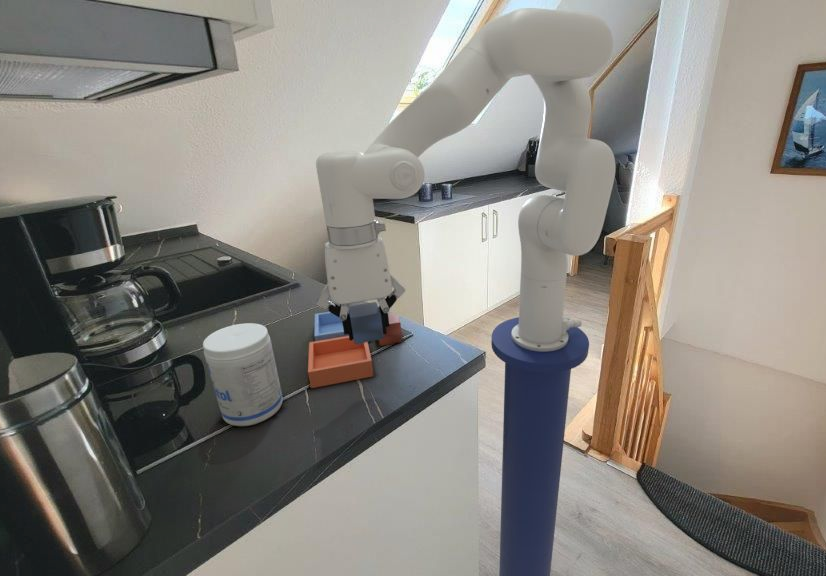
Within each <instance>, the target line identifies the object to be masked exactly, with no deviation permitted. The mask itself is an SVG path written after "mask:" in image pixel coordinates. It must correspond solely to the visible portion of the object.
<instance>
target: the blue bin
mask: <svg viewBox="0 0 826 576" xmlns="http://www.w3.org/2000/svg"><path fill="white" fill-rule="evenodd" d="M348 314H349V309H348ZM313 332H314V334H313V335H314V342H315V341H321V340H327V339H333V338H339V337H345V336H349V334H346V335H344V329H343V324H342V320H340V318H339V317H337V316H336V315H334V314H332V313H331V312H329V311H326V312H318V313H314V331H313Z"/></svg>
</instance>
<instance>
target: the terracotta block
mask: <svg viewBox="0 0 826 576" xmlns="http://www.w3.org/2000/svg"><path fill="white" fill-rule="evenodd" d="M388 318H389V327H386V331H387V334H383V335H384V339H381V340H377V341H378V345H379V346H388V345H393V344H398V343H402V342H403V336H402V335H403V334H402V325H401V320H400V318H399V315H398V313H397V312H395V313H388Z"/></svg>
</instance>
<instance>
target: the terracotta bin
mask: <svg viewBox="0 0 826 576" xmlns="http://www.w3.org/2000/svg"><path fill="white" fill-rule="evenodd" d="M307 359H308V362H307V376H308V379H309V385H310V389H315V388H319V387H320V388H321V387H325V386H331V385H335V384H341V383H347V382H351V381H355V380H361V379H366V378H371V377H374V368H373V361H372V356H371V351H370V345H369V342H365V343H360V344H354V339H353V340H351V341H350V339H349V336H345V337H339V338H333V339H327V340H321V341H315V340H314V341H309V343H308V358H307Z"/></svg>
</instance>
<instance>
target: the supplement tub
mask: <svg viewBox="0 0 826 576" xmlns="http://www.w3.org/2000/svg"><path fill="white" fill-rule="evenodd" d="M202 349H203V355H204V359H205V363H206V366H207V370H208V372H209V376H210V380H211V384H212V387H213V391H214V394H215V397H216V401H217V404H218V407H219V411H220V414H221V418H222V419H223V421H224V422H225V423H226V424H229V425H231V426H235V427H249V426H253V425H257V424H259V423H262V422H264V421H266V420H268V419H269V418H271V417H273V416H274V415H275V414H276V413H277V412H278V411H279V410H280V408H281V406H282V404H283V399H284V398H283V393H282V388H281V383H280V378H279V373H278V369H277V364H276V359H275V354H274V350H273V346H272V339H271V337H270V334H269V332H268V329H267V327H266V326H265V325H263V324H260V323H253V322H246V323H238V324H232V325H229V326H226V327H223V328H220V329H218V330H215V331H213V332H212V333H210V334H209V335H208V336H206V338H205V339H204V340H203V342H202Z"/></svg>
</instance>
